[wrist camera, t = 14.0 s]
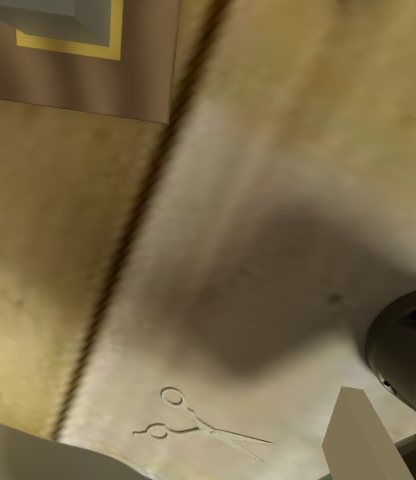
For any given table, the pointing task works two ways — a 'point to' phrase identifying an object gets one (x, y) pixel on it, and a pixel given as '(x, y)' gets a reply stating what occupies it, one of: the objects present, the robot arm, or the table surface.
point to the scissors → (202, 430)
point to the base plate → (98, 65)
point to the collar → (60, 19)
